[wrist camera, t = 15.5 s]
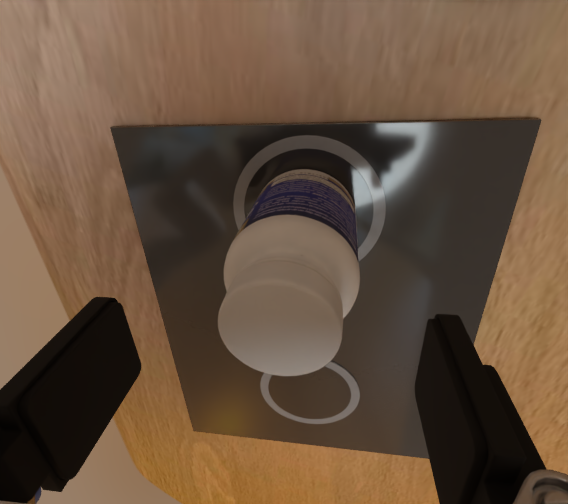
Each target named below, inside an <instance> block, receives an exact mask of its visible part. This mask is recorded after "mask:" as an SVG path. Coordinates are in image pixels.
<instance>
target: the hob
mask: <svg viewBox="0 0 568 504" xmlns="http://www.w3.org/2000/svg"><path fill="white" fill-rule="evenodd" d="M540 123H541V119H538V118H534V119H481V120H429V121H376V122H323V123H271V124H218V125H166V126H114V127H111V132H112V135H113V139H114V143H115V146H116V150H117V154H118V157H119V161H120V165H121V168H122V172H123V175H124V179H125V183H126V186H127V190H128V194H129V197H130V201H131V205H132V208H133V212H134V216H135V219H136V223H137V226H138V230H139V234H140V237H141V241H142V245H143V248H144V252H145V256H146V259H147V263H148V267H149V270H150V274H151V278H152V281H153V285H154V288H155V292H156V296H157V299H158V303H159V307H160V310H161V314H162V318H163V321H164V325H165V329H166V332H167V336H168V339H169V343H170V347H171V350H172V354H173V358H174V361H175V365H176V369H177V372H178V376H179V380H180V383H181V387H182V391H183V394H184V398H185V401H186V405H187V409H188V412H189V416H190V420H191V423H192V427H193V431H198V432H206V433H215V434H223V435H232V436H240V437H249V438H257V439H266V440H274V441H283V442H291V443H300V444H308V445H317V446H325V447H334V448H342V449H351V450H359V451H368V452H377V453H385V454H394V455H402V456H411V457H419V458H428V459H429V455H428V450H427V446H426V442H425V437H424V433H423V428H422V424H421V420H420V415H419V411H418V407H417V402H416V398H415V380H416V375H417V370H418V365H419V360H420V355H421V350H422V345H423V340H424V335H425V331H426V326H427V321H428V319H434V317H435V315H436V314H451V315H459V316H460V318H461V320H462V322H463V324H464V326H465V328H466V331H467V333H468V335H469V337H470V339H471V341H472V343H473V344H474V341H475V338H476V334H477V331H478V328H479V324H480V321H481V318H482V314H483V311H484V308H485V305H486V301H487V298H488V295H489V291H490V288H491V285H492V281H493V278H494V275H495V272H496V268H497V265H498V262H499V258H500V255H501V252H502V248H503V245H504V242H505V239H506V235H507V232H508V229H509V225H510V222H511V219H512V215H513V212H514V209H515V206H516V202H517V199H518V196H519V192H520V189H521V186H522V183H523V179H524V176H525V173H526V169H527V166H528V163H529V159H530V156H531V153H532V150H533V146H534V143H535V140H536V136H537V133H538V130H539V126H540ZM298 169H310V170H316V171H320V172H323V173H325V174H328V175H330V176H331V177H333V178H335V179H336V180H337V181H339V182H340V183H341V184H342V185H343V186H344V187H345V189H346V190H347V191H348V193H349V194H350V196H351V198H352V200H353V203H354V206H355V211H356V227H357V244H358V259H359V272H360V284H359V291H358V294H357V298H356V300H355V302H354V304H353V306H352V308H351V310H350V311H349V312H348V314H347V315H346V316H345V317H344V318H343V332H342V341H341V344H340V347H339V350H338V352H337V353H336V355H335V356H334V358H333V359H332V360H331V361H330V362H329V363H327V364H326V365H325V366H324V367H322V368H320V369H319V370H316V371H314V372H311V373H308V374H303V375H298V376H279V375H272V374H267V373H264V372H261V371H258V370H256V369H253V368H251V367H249V366H248V365H246V364H244V363H243V362H241V361H240V360H239V359H238V358H236V357H235V356H234V355H233V354H232V353H231V352H230V351H229V350H228V348H227V347H226V345H225V344H224V342H223V340H222V338H221V336H220V333H219V329H218V314H219V310H220V307H221V304H222V302H223V300H224V298H225V295H226V293H227V291H226V287H225V283H224V264H225V260H226V256H227V253H228V251H229V248H230V246H231V244H232V242H233V240H234V238H235V237H236V235H237V233H238V231H239V230H240V228H241V226H242V224H243V223H244V221H245V220H246V218H247V216H248V214H249V212H250V211H251V209H252V207H253V205H254V204H255V202H256V200H257V198H258V197H259V195H260V193H261V192H262V190H263V189H264V187H265V186H266V185H267V184H268V183H269V182H270V181H271V180H273V179H274V178H276V177H277V176H279V175H281V174H283V173H285V172H288V171H292V170H298Z"/></svg>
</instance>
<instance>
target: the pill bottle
mask: <svg viewBox="0 0 568 504" xmlns="http://www.w3.org/2000/svg"><path fill="white" fill-rule="evenodd" d="M224 283H225V287H226V291H227V293H226V295H225V298H224V300H223V302H222V304H221V307H220V310H219V314H218V329H219V333H220V336H221V338H222V340H223V342H224V344H225V345H226V347H227V348H228V350H229V351H230V352H231V353H232V354H233V355H234V356H235V357H236V358H238V359H239V360H240V361H241V362H243V363H244V364H246V365H248V366H249V367H251V368H253V369H256V370H258V371H261V372H264V373H267V374H272V375H279V376H298V375H303V374H308V373H311V372H314V371H316V370H319V369H320V368H322V367H324V366H325V365H326V364H327V363H329V362H330V361H331V360H332V359H333V358H334V356H335V355H336V353H337V352H338V350H339V347H340V344H341V341H342V332H343V318H344V317H345V316H346V315H347V314H348V312H349V311H350V310H351V308H352V306H353V304H354V302H355V300H356V298H357V294H358V291H359V284H360V272H359V259H358V244H357V227H356V211H355V206H354V203H353V200H352V198H351V196H350V194H349V193H348V191H347V190H346V189H345V187H344V186H343V185H342V184H341V183H340V182H339V181H337V180H336V179H335V178H333V177H331V176H330V175H328V174H325V173H323V172H320V171H316V170H310V169H298V170H292V171H288V172H285V173H283V174H281V175H279V176H277V177H276V178H274V179H273V180H271V181H270V182H269V183H268V184H267V185H266V186H265V187H264V189H263V190H262V192H261V193H260V195H259V197H258V198H257V200H256V202H255V204H254V205H253V207H252V209H251V211H250V212H249V214H248V216H247V218H246V220H245V221H244V223H243V224H242V226H241V228H240V230H239V231H238V233H237V235H236V237H235V238H234V240H233V242H232V244H231V246H230V248H229V251H228V253H227V256H226V260H225V264H224Z"/></svg>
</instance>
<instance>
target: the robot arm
mask: <svg viewBox="0 0 568 504" xmlns="http://www.w3.org/2000/svg"><path fill="white" fill-rule="evenodd" d="M140 371H141V362H140V359H139V356H138V353H137V349H136V346H135V343H134V340H133V337H132V334H131V331H130V328H129V325H128V322H127V319H126V316H125V313H124V310H123V307H122V305H121V304H120V303H118V301H117V300H116V299H115V298H108V297H95V298H93V299H92V300H91V301H90V302H89V303H88V304H87V305H86V306H85V307H84V308H83V309H82V310H81V311H80V312H79V313H78V314H77V315H76V316H75V317H74V318H73V319H72V320H70V321H69V322H68V323H67V325H66V326H64V327H63V328H62V329H61V330H60V331H59V332H58V333H57V334H56V335H55V336H54V337H53V338H52V339H51V340H50V341H49V342H48V343H47V344H46V345H45V346H44V347H43V348H42V349H41V350H40V351H39V352H38V353H37V354H36V355H35V356H34V357H33V358H32V359H31V360H30V361H29V362H28V363H27V364H26V365H25V366H24V367H23V368H22V369H21V370H20V371H19V372H18V373H17V374H16V375H15V376H14V377H13V378H12V379H11V380H10V381H9V382H8V383H7V384H6V385H5V386H4V387H3V388H2V389H1V390H0V504H35V494H36V493H37V491H38V490H39V488H40V487H42V488H43V490H50V491H58V492H61V491H62V490H63V489H64V487H65V485H66V484H67V482H68V481H69V480H70V479H72V478H73V477H75V476H76V474H77V473H78V472H79V470H80V468H81V467H82V465H83V464H84V462H85V460H86V459H87V457H88V456H89V454H90V452H91V451H92V449H93V448H94V446H95V444H96V443H97V441H98V440H99V438H100V436H101V435H102V433H103V432H104V430H105V428H106V427H107V425H108V424H109V422H110V420H111V419H112V417H113V416H114V414H115V412H116V411H117V409H118V408H119V406H120V404H121V403H122V401H123V400H124V398H125V396H126V395H127V393H128V392H129V390H130V388H131V387H132V385H133V384H134V382H135V380H136V379H137V377H138V376H139V374H140ZM415 398H416V402H417V407H418V411H419V415H420V420H421V424H422V428H423V433H424V437H425V442H426V446H427V450H428V455H429V459H430V463H431V468H432V472H433V476H434V481H435V485H436V489H437V494H438V498H439V502H440V504H568V475H566V474H564V473H560V472H557V471H554V470H547V469H546V467H545V465H544V463H543V461H542V459H541V457H540V455H539V453H538V451H537V449H536V447H535V446H534V444H533V442H532V440H531V438H530V436H529V434H528V432H527V430H526V428H525V426H524V424H523V422H522V420H521V418H520V416H519V414H518V412H517V410H516V408H515V406H514V404H513V402H512V400H511V398H510V396H509V394H508V392H507V390H506V388H505V387H504V385H503V383H502V381H501V379H500V377H499V375H498V373H497V371H496V370H495V368H494V367H492V366H491V365H483V364H482V362H481V360H480V358H479V356H478V354H477V352H476V350H475V347H474V345H473V343H472V341H471V339H470V337H469V335H468V333H467V331H466V328H465V326H464V324H463V322H462V320H461V318H460V316H459V315H451V314H436V315H435V317H434V319H428V321H427V326H426V331H425V335H424V340H423V345H422V350H421V355H420V360H419V365H418V370H417V375H416V380H415Z"/></svg>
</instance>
